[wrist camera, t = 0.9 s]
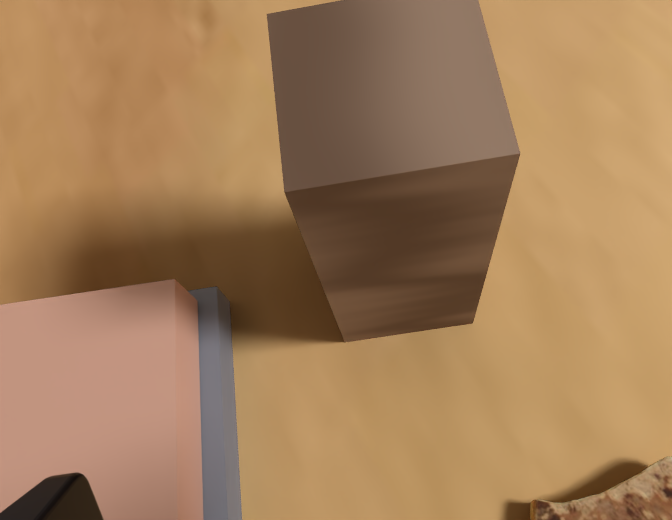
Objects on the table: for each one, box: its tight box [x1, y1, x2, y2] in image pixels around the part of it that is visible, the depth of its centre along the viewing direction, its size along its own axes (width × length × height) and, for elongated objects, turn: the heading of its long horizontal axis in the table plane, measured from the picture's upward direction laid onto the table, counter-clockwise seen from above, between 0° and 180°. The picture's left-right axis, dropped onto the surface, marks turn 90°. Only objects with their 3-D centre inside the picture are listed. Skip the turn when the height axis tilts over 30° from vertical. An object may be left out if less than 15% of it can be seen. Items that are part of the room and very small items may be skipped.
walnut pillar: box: [267, 0, 520, 342], centre depth 18 cm, size 4×4×11 cm
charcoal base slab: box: [188, 286, 242, 520], centre depth 21 cm, size 8×8×2 cm
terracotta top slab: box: [0, 279, 203, 520], centre depth 19 cm, size 7×7×2 cm
